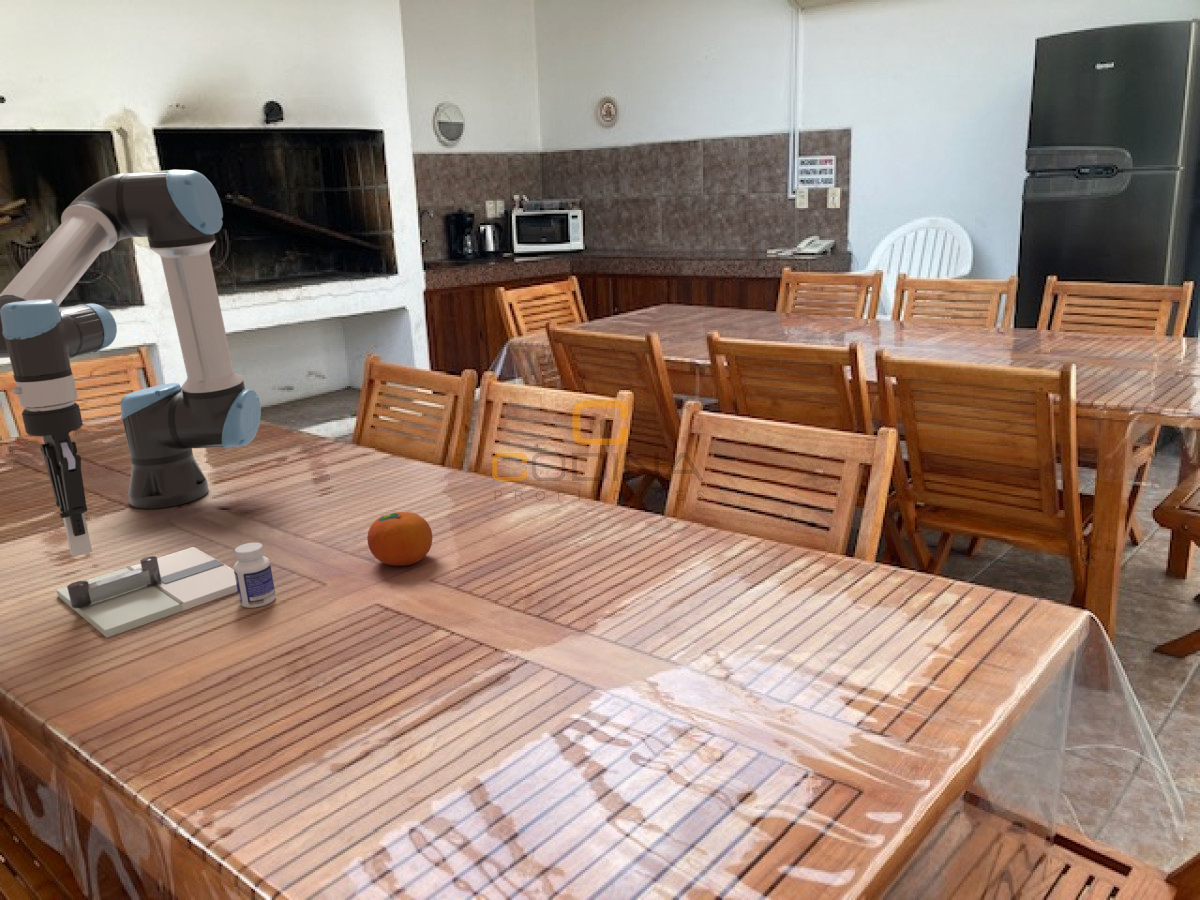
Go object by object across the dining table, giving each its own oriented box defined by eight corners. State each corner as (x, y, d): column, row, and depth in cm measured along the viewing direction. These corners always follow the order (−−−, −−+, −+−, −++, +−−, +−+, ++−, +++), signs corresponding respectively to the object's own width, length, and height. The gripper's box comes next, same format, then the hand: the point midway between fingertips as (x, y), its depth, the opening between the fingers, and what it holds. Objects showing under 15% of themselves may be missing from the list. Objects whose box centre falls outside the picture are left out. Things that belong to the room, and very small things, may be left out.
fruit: (447, 553, 158) (442, 508, 156) (410, 577, 149) (404, 531, 147) (395, 546, 163) (390, 502, 160) (357, 569, 154) (350, 523, 151)
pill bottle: (283, 595, 145) (274, 542, 143) (261, 610, 140) (251, 555, 138) (255, 592, 147) (246, 539, 144) (232, 606, 142) (222, 552, 140)
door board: (194, 553, 164) (193, 545, 164) (252, 586, 149) (251, 578, 149) (58, 596, 149) (56, 588, 149) (106, 637, 134) (104, 629, 134)
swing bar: (157, 577, 151) (152, 554, 149) (164, 582, 149) (159, 559, 148) (69, 606, 142) (63, 582, 141) (75, 611, 140) (69, 587, 139)
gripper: (11, 404, 142) (44, 549, 148) (31, 416, 132) (66, 571, 139) (66, 395, 147) (95, 536, 153) (89, 406, 137) (120, 556, 144)
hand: (81, 552), depth 146 cm, fingers closed
